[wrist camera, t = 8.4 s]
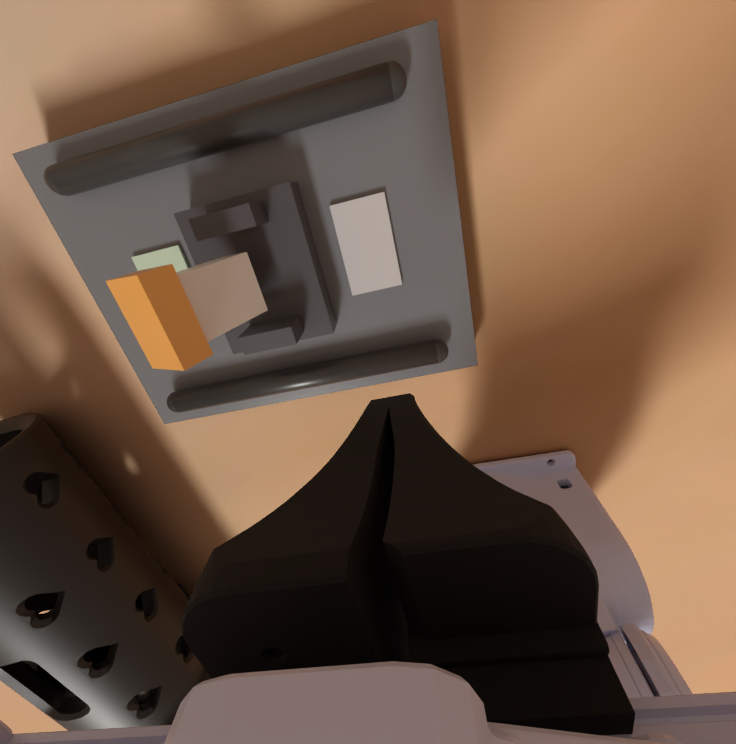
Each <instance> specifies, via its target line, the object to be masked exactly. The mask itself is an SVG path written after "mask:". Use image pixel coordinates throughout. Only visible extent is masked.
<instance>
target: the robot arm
mask: <svg viewBox="0 0 736 744" xmlns="http://www.w3.org/2000/svg"><path fill="white" fill-rule="evenodd" d="M551 459H553V460H552V461H550V462H547V461H549V460H551ZM180 622H181V632H182V635H183V637H184V639H185V641H186V643H187V644H188V646H189V648H190V649H191V651H192V652H193V653H194V655H195V656H196V658H197V659H198V660H199V662H200V663H201V664H202V666H203V667H204V668H205V670H206V671H207V672H208V674H209V675H210V676H211V678H212V679H209V680H205V681H202V682H201V683H199V684H197V685H196V686H194V687H193V688H192V689H191V691H190V692H189V693H188V694H187V695H186V697H185V698H184V699H183V700H182V702H181V703H180V705H179V708H178V710H177V713H176V715H175V718H174V720H173V723H172V725H160V726H143V727H125V728H108V729H91V730H74V731H57V732H40V733H23V734H12V730H11V729H10V728H9V727H8V726H7V725H6V724H5V723H3V722H2V721H1V720H0V744H736V692H722V693H705V694H692V692H691V690H690V689H689V687H688V685H687V684H686V682H685V680H684V679H683V677H682V676H681V674H680V672H679V671H678V669H677V668H676V666H675V664H674V663H673V661H672V660H671V658H670V657H669V655H668V654H667V652H666V651H665V650H664V648H663V647H662V645H661V644H660V643H659V642H658V640H657V639H656V638H655V637H653V636H652V635H651V634H652V631H653V626H654V617H653V609H652V603H651V598H650V594H649V591H648V588H647V585H646V582H645V579H644V577H643V574H642V572H641V569H640V567H639V565H638V563H637V560H636V558H635V556H634V554H633V552H632V550H631V549H630V547H629V545H628V543H627V542H626V540H625V538H624V537H623V535H622V534H621V532H620V531H619V529H618V528H617V526H616V525H615V523H614V522H613V520H612V519H611V518H610V516H609V515H608V513H607V512H606V510H605V509H604V507H603V506H602V504H601V503H600V501H599V500H598V498H597V497H596V495H595V494H594V492H593V491H592V489H591V488H590V487H589V485H588V484H587V482H586V481H585V479H584V478H583V476H582V475H581V473H580V472H579V470H578V469H577V467H576V457H575V455H574V454H573V453H572V452H571V451H569V450H565V451H558V452H552V453H545V454H539V455H532V456H525V457H519V458H512V459H506V460H499V461H492V462H486V463H479V464H471V463H470V462H469V461H467V460H466V459H465V458H464V457H462V456H461V455H460V454H459V453H458V452H457V451H455V450H454V449H453V448H452V447H451V446H450V445H449V444H448V443H447V442H446V441H445V440H444V439H443V438H442V437H441V436H440V435H439V434H438V433H437V431H436V430H435V429H434V428H433V427H432V426H431V424H430V423H429V422H428V420H427V419H426V418H425V416H424V415H423V414H422V412H421V410H420V409H419V407H418V405H417V403H416V401H415V398H414V396H413V395H412V394H410V393H409V394H404V395H398V396H393V397H387V398H381V399H376V400H371V401H370V403H369V404H368V406H367V407H366V409H365V411H364V412H363V414H362V416H361V417H360V419H359V421H358V422H357V424H356V425H355V427H354V428H353V430H352V431H351V433H350V434H349V436H348V437H347V439H346V440H345V441H344V443H343V444H342V445H341V447H340V448H339V449H338V451H337V452H336V453H335V454H334V456H333V457H332V458H331V459H330V460H329V462H328V463H327V464H326V465H325V466H324V467H323V468H322V469H321V470H320V471H319V472H318V473H317V474H316V475H315V476H314V477H313V478H312V479H311V480H310V481H309V482H308V483H307V484H306V485H305V486H303V487H302V488H301V489H300V490H299V491H298V492H297V493H295V494H294V495H293V496H292V497H291V498H290V499H289V500H287V501H286V502H285V503H284V504H282V505H281V506H280V507H278V508H277V509H276V510H274V511H273V512H272V513H270V514H269V515H267V516H266V517H265V518H263V519H262V520H260V521H259V522H257V523H256V524H254V525H253V526H251V527H250V528H248V529H247V530H245V531H243V532H242V533H240V534H239V535H237V536H235V537H234V538H232V539H230V540H229V541H227V542H226V543H224V544H222V545H220V546H219V547H217V548H215V549H214V550H213V552H212V554H211V556H210V558H209V560H208V562H207V564H206V566H205V567H204V569H203V572H202V574H201V576H200V578H199V580H198V582H197V584H196V586H195V588H194V591H193V593H192V595H191V597H190V599H189V601H188V603H187V605H186V607H185V610H184V612H183V615H182V617H181V620H180ZM626 644H627V645H626ZM627 646H628V647H627Z"/></svg>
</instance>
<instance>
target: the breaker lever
mask: <svg viewBox="0 0 736 744" xmlns="http://www.w3.org/2000/svg"><path fill="white" fill-rule="evenodd" d="M106 283H107V285H108V287H109V289H110V291H111V292H112V294H113V296H114V298H115V300H116V302H117V304H118V305H119V307H120V309H121V311H122V313H123V315H124V317H125V318H126V320H127V322H128V324H129V326H130V328H131V330H132V331H133V333H134V335H135V337H136V339H137V341H138V343H139V344H140V346H141V348H142V350H143V352H144V354H145V356H146V357H147V359H148V361H149V363H150V365H151V367H152V368H153V369H166V370H180V371H185V370H187V369H189V368H190V367H192V366H194V365H196V364H198V363H199V362H201V361H203V360H205V359H206V358H208V357H210V356H212V355H213V353H212V350H211V348H210V346H209V344H208V342H209V341H211V340H212V339H214V338H216V337H218V336H220V335H222V334H224V333H226V332H228V331H230V330H231V329H233V328H235V327H237V326H239V325H241V324H243V323H245V322H247V321H248V320H250V319H252V318H254V317H256V316H258V315H260V314H262V313H264V312H266V311H267V310H268V309H267V306H266V303H265V301H264V298H263V295H262V292H261V290H260V287H259V284H258V281H257V279H256V276H255V273H254V270H253V268H252V265H251V262H250V259H249V256H248V254H247V252H243V253H238V254H233V255H228V256H223V257H220V258H217V259H214V260H211V261H208V262H205V263H202V264H199V265H196V266H193V267H190V268H187V269H184V270H181V271H178V272H176V271H175V268H174V266H173V264H169V265H164V266H159V267H154V268H149V269H144V270H140V271H136V272H133V273H130V274H127V275H123V276H120V277H117V278H114V279H110V280H107V281H106Z"/></svg>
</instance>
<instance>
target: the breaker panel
mask: <svg viewBox="0 0 736 744" xmlns="http://www.w3.org/2000/svg"><path fill="white" fill-rule="evenodd" d="M13 156H14V158H15V160H16V161H17V163H18V165H19V167H20V168H21V170H22V172H23V174H24V176H25V177H26V179H27V181H28V183H29V184H30V186H31V188H32V190H33V192H34V193H35V195H36V197H37V199H38V200H39V202H40V204H41V206H42V207H43V209H44V211H45V213H46V215H47V216H48V218H49V220H50V222H51V223H52V225H53V227H54V229H55V231H56V232H57V234H58V236H59V238H60V239H61V241H62V243H63V245H64V247H65V248H66V250H67V252H68V254H69V255H70V257H71V259H72V261H73V262H74V264H75V266H76V268H77V270H78V271H79V273H80V275H81V277H82V278H83V280H84V282H85V284H86V286H87V287H88V289H89V291H90V293H91V294H92V296H93V298H94V300H95V301H96V303H97V305H98V307H99V309H100V310H101V312H102V314H103V316H104V317H105V319H106V321H107V323H108V325H109V326H110V328H111V330H112V332H113V333H114V335H115V337H116V339H117V341H118V342H119V344H120V346H121V348H122V349H123V351H124V353H125V355H126V356H127V358H128V360H129V362H130V364H131V365H132V367H133V369H134V371H135V372H136V374H137V376H138V378H139V380H140V381H141V383H142V385H143V387H144V388H145V390H146V392H147V394H148V396H149V397H150V399H151V401H152V403H153V404H154V406H155V408H156V410H157V411H158V413H159V415H160V417H161V419H162V420H163V422H164V424H167V423H173V422H178V421H183V420H189V419H194V418H199V417H205V416H210V415H215V414H221V413H226V412H231V411H237V410H242V409H247V408H253V407H258V406H264V405H269V404H274V403H280V402H285V401H290V400H296V399H301V398H306V397H312V396H317V395H322V394H328V393H333V392H338V391H344V390H349V389H354V388H360V387H365V386H370V385H376V384H381V383H386V382H392V381H397V380H402V379H408V378H413V377H418V376H424V375H429V374H434V373H440V372H445V371H450V370H456V369H461V368H466V367H472V366H477V365H478V362H477V354H476V346H475V337H474V329H473V320H472V312H471V303H470V295H469V286H468V278H467V269H466V261H465V252H464V244H463V236H462V227H461V219H460V210H459V202H458V193H457V185H456V176H455V168H454V159H453V151H452V142H451V134H450V126H449V117H448V109H447V100H446V92H445V83H444V75H443V66H442V58H441V49H440V41H439V32H438V24H437V19H435V20H432V21H429V22H426V23H423V24H420V25H417V26H413V27H410V28H407V29H404V30H401V31H398V32H394V33H391V34H388V35H385V36H382V37H379V38H376V39H372V40H369V41H366V42H363V43H360V44H357V45H354V46H350V47H347V48H344V49H341V50H338V51H335V52H332V53H328V54H325V55H322V56H319V57H316V58H313V59H310V60H306V61H303V62H300V63H297V64H294V65H291V66H288V67H284V68H281V69H278V70H275V71H272V72H269V73H265V74H262V75H259V76H256V77H253V78H250V79H247V80H243V81H240V82H237V83H234V84H231V85H228V86H225V87H221V88H218V89H215V90H212V91H209V92H206V93H203V94H199V95H196V96H193V97H190V98H187V99H184V100H181V101H177V102H174V103H171V104H168V105H165V106H162V107H159V108H155V109H152V110H149V111H146V112H143V113H140V114H137V115H133V116H130V117H127V118H124V119H121V120H118V121H114V122H111V123H108V124H105V125H102V126H99V127H96V128H92V129H89V130H86V131H83V132H80V133H77V134H74V135H70V136H67V137H64V138H61V139H58V140H55V141H52V142H48V143H45V144H42V145H39V146H36V147H33V148H30V149H26V150H23V151H20V152H17V153H14V154H13ZM243 252H247V254H248V256H249V259H250V262H251V265H252V268H253V270H254V273H255V276H256V279H257V281H258V284H259V287H260V290H261V292H262V295H263V298H264V301H265V303H266V306H267V309H268V310H267V311H266V312H264V313H262V314H260V315H258V316H256V317H254V318H252V319H250V320H248V321H247V322H245V323H243V324H241V325H239V326H237V327H235V328H233V329H231V330H230V331H228V332H226V333H224V334H222V335H220V336H218V337H216V338H214V339H212V340H211V341H209V342H208V344H209V346H210V348H211V350H212V353H213V355H212V356H210V357H208V358H206V359H205V360H203V361H201V362H199V363H198V364H196V365H194V366H192V367H190V368H189V369H187V370H185V371H180V370H166V369H153V368H152V367H151V365H150V363H149V361H148V359H147V357H146V356H145V354H144V352H143V350H142V348H141V346H140V344H139V343H138V341H137V339H136V337H135V335H134V333H133V331H132V330H131V328H130V326H129V324H128V322H127V320H126V318H125V317H124V315H123V313H122V311H121V309H120V307H119V305H118V304H117V302H116V300H115V298H114V296H113V294H112V292H111V291H110V289H109V287H108V285H107V283H106V281H107V280H110V279H114V278H117V277H120V276H123V275H127V274H130V273H133V272H136V271H140V270H144V269H149V268H154V267H159V266H164V265H169V264H173V266H174V268H175V271H176V272H178V271H181V270H184V269H187V268H190V267H193V266H196V265H199V264H202V263H205V262H208V261H211V260H214V259H217V258H220V257H223V256H228V255H233V254H238V253H243Z"/></svg>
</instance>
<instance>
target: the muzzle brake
mask: <svg viewBox="0 0 736 744" xmlns="http://www.w3.org/2000/svg"><path fill="white" fill-rule="evenodd" d="M190 597H191V596H190V595H189V594H188V592H187V591H186V590H185V589H184V587H183V586H182V585H181V584H176V583H175V581H174V580H173V579H172V578H171V576H170V575H169V574H168V573H167V572H166V570H165V569H164V568H163V567H162V565H161V564H160V563H159V562H158V560H157V559H155V558H154V557H153V556H152V553H151V552H150V551H149V549H148V548H147V547H146V546H145V544H144V543H143V542H142V541H141V539H140V538H139V536H138V535H137V534H136V533H135V532H134V531H133V530H132V528H131V527H130V526H129V525H128V523H127V522H126V521H125V520H124V519H123V517H122V516H121V515H120V513H119V511H118V510H117V509H116V508H115V506H114V505H113V504H112V503H111V502H110V500H109V499H108V498H107V497H106V495H105V494H104V493H103V492H102V490H101V489H100V488H99V487H98V485H97V484H96V483H95V482H94V481H93V479H92V478H91V477H90V476H89V474H88V473H87V472H86V471H85V469H84V468H83V467H82V466H81V465H80V463H79V462H78V461H77V460H76V458H75V457H74V456H73V455H72V453H71V452H70V451H69V450H68V448H67V447H66V446H65V445H64V444H63V442H62V441H61V440H60V439H59V437H58V436H57V435H56V434H55V432H54V431H53V430H52V429H51V427H50V426H49V425H48V424H47V423H46V421H45V420H44V419H43V418H42V416H41V415H39V414H32V413H29V414H22V415H19V416H15V417H12V418H8V419H5V420H1V421H0V681H2V682H3V683H5V684H6V685H7V686H9V687H10V688H11V689H13V690H14V691H15V692H17V693H18V694H19V695H21V696H22V697H24V698H25V699H26V700H28V701H29V702H30V703H32V704H33V705H34V706H36V707H37V708H38V709H40V710H41V711H42V712H44V713H45V714H47V715H48V716H49V717H51V718H52V719H53V720H55V721H56V722H57V723H59V724H60V725H61V726H63V727H64V728H66V729H67V730H68V731H74V730H91V729H108V728H125V727H143V726H160V725H172V723H173V720H174V718H175V715H176V713H177V710H178V708H179V705H180V703H181V702H182V700H183V699H184V698H185V697H186V695H187V694H188V693H189V692H190V691H191V689H192V688H193V687H194V686H196V685H197V684H199V683H201V682H202V681H205V680H209V679H212V678H211V676H210V675H209V674H208V672H207V671H206V670H205V668H204V667H203V666H202V664H201V663H200V662H199V660H198V659H197V658H196V656H195V655H194V653H193V652H192V651H191V649H190V648H189V646H188V644H187V643H186V641H185V639H184V637H183V635H182V632H181V622H180V620H181V617H182V615H183V612H184V610H185V607H186V605H187V603H188V601H189V599H190ZM46 610H50V611H49V612H48V613H44V614H38V613H40V612H42V611H46Z"/></svg>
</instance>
